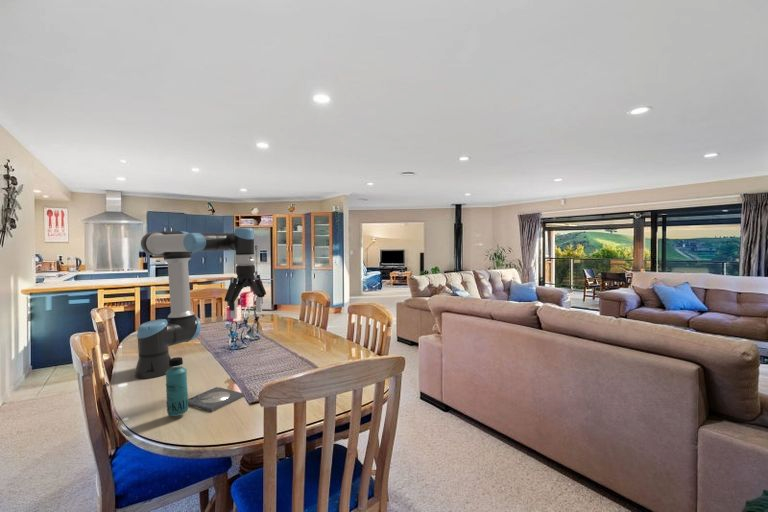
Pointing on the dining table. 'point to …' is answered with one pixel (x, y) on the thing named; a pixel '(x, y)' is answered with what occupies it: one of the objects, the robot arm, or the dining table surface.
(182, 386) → the beverage bottle
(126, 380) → the dining table surface
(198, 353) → the dining table surface
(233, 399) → the motor plate
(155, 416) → the dining table surface
